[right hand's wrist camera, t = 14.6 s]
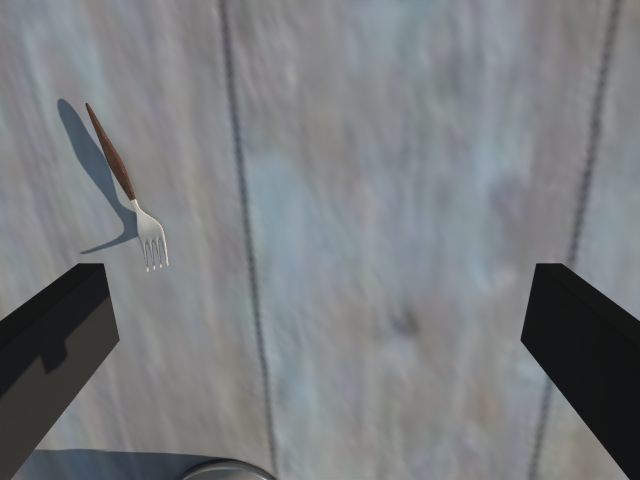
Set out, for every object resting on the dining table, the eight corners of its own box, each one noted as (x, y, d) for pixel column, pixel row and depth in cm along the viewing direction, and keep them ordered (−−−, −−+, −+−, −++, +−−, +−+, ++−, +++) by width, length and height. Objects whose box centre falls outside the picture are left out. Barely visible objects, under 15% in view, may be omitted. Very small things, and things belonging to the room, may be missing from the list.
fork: (102, 98, 36) (91, 99, 34) (176, 257, 41) (169, 265, 39) (76, 107, 36) (63, 108, 34) (153, 264, 42) (145, 272, 40)
